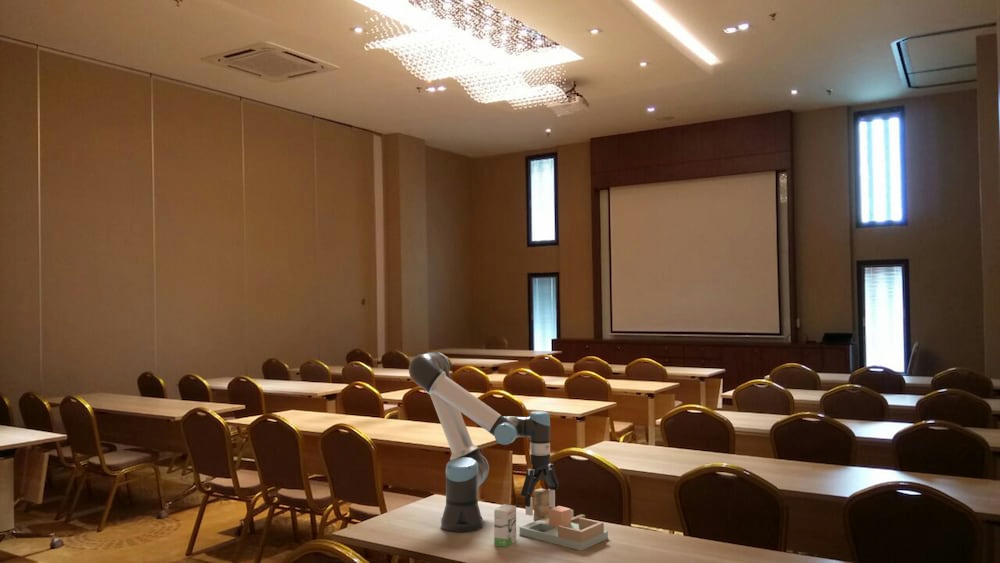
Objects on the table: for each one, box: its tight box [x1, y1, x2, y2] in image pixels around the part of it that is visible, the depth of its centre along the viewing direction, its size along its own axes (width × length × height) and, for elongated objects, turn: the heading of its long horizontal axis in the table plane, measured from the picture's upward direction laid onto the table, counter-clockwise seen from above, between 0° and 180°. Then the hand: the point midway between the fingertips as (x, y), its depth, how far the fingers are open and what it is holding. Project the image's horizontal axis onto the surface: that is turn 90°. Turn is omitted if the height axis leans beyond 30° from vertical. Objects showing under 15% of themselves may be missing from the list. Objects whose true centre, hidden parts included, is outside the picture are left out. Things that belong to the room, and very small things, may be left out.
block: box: [549, 505, 572, 527], centre depth 256 cm, size 6×6×6 cm
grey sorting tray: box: [519, 517, 609, 552], centre depth 250 cm, size 26×16×6 cm, turn 49°
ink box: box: [493, 503, 517, 548], centre depth 244 cm, size 9×5×12 cm, turn 157°
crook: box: [533, 488, 586, 524], centre depth 268 cm, size 18×9×11 cm, turn 48°
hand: (540, 511), depth 270 cm, fingers open, 13 cm apart
